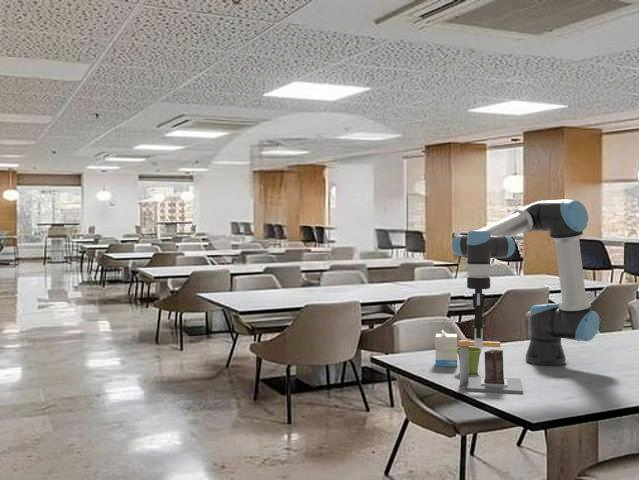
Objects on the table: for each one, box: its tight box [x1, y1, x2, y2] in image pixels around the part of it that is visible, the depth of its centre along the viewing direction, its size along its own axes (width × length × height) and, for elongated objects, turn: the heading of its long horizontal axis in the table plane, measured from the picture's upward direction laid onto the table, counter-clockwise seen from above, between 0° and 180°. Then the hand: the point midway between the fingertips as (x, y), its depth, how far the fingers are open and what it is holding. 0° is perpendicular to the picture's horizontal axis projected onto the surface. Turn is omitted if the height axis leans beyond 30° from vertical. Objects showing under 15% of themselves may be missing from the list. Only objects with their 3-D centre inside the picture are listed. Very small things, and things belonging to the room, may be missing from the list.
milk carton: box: [434, 329, 458, 368], centre depth 268 cm, size 9×8×13 cm
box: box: [483, 349, 505, 384], centre depth 233 cm, size 6×4×12 cm
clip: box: [457, 339, 501, 348], centre depth 234 cm, size 14×4×2 cm, turn 76°
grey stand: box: [459, 346, 524, 395], centre depth 233 cm, size 20×18×13 cm
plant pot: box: [456, 346, 483, 375], centre depth 255 cm, size 9×9×9 cm
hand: (478, 347), depth 227 cm, fingers closed
